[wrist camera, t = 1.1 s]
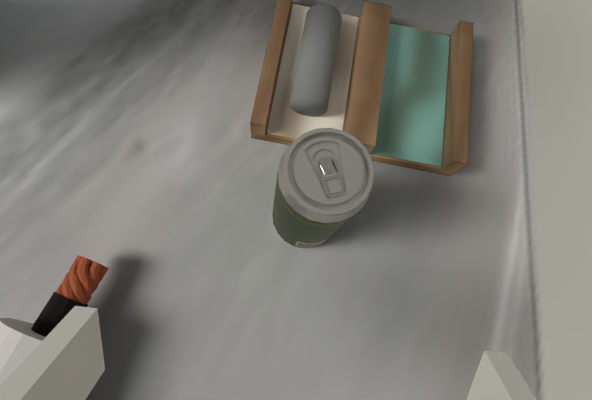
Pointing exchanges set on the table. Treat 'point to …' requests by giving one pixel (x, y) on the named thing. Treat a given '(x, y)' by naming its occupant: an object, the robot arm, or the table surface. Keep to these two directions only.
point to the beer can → (320, 186)
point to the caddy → (375, 88)
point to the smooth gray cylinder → (316, 61)
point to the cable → (47, 315)
